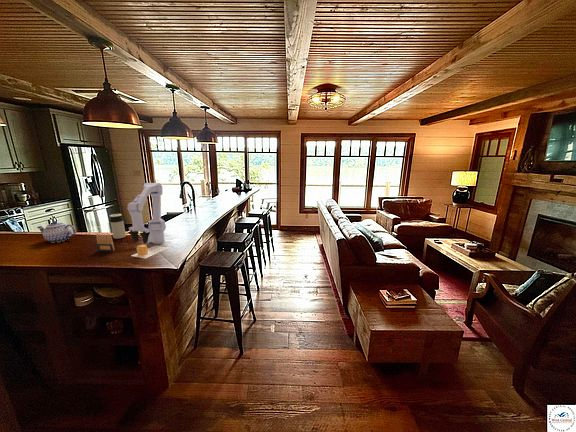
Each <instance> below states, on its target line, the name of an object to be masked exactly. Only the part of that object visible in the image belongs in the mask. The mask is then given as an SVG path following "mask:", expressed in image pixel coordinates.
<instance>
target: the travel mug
mask: <svg viewBox="0 0 576 432" xmlns="http://www.w3.org/2000/svg"><path fill="white" fill-rule="evenodd" d="M109 217H110V219H109V221H110V228H111V233H112V237H113V238H112V239H117V240H118V239H119V240H120V239H123V238H125V237H127V236H126V230H125V229H126V228H125V224H124V223H125V222H124V218H123V217H122V213H113V214H110V215H109Z"/></svg>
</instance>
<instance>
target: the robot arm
mask: <svg viewBox="0 0 576 432" xmlns="http://www.w3.org/2000/svg"><path fill="white" fill-rule="evenodd" d="M149 195H150V196H151V197H152V219H150V220H149V222H148V227H145V224H144V218H143V211H144V206H145V203H146V202H147V201H148V199H147V197H149ZM162 195H163V186H162V184H161V183H160V182H145V183H144V184H143V189H142V192H141V193H140V194H137V196H135V198H134V200H133V201H132V202H129V203H128V204H127V207H126V208H127V211H128V213H129V215H130V216H131V224H132V226H130V227H128V234H129V235H130V236H131V237H132V239H133V242H134V243H136V242H138V241H139V235H140V237H141V238H142V242H143V245H146V244H147V243H148V241H149V242H150V243H153V244H161V243H164V242H166V241H165V233H164V232H165V231H166V229H167V225H166V221H165V220H164V219H163V218H162V217H161V216H162V212H161V211H162V209H161V208H162V207H161V205H162V203H161V199H162V198H161V196H162Z"/></svg>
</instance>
